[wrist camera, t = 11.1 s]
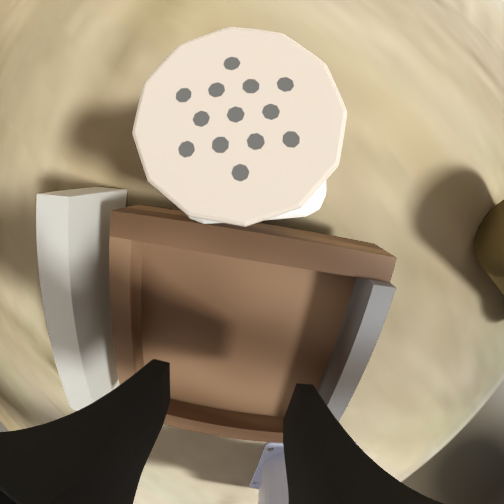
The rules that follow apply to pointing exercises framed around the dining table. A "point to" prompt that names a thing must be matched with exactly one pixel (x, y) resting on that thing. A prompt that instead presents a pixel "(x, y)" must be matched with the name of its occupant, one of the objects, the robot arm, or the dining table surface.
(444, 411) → the dining table surface
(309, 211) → the pepper shaker
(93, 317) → the block
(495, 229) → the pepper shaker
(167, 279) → the brown wooden square tray
